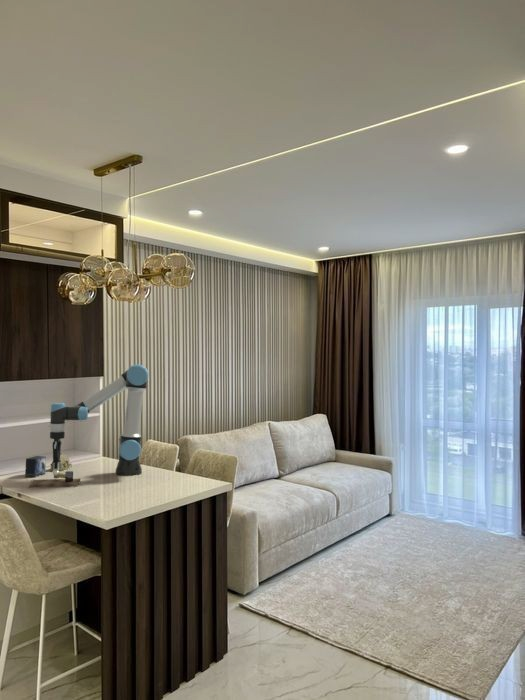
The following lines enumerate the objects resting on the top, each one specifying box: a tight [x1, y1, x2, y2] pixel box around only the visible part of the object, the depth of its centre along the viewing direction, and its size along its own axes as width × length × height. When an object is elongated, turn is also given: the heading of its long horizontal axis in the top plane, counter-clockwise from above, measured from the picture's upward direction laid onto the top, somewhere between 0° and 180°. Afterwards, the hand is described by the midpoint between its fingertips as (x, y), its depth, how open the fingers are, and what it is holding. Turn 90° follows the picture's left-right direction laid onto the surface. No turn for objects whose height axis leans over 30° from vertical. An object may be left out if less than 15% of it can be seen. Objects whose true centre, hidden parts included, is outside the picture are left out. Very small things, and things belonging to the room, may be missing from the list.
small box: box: [24, 455, 47, 478], centre depth 307 cm, size 11×6×10 cm, turn 168°
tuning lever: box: [53, 470, 74, 481], centre depth 288 cm, size 12×4×5 cm, turn 67°
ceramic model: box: [48, 452, 73, 472], centre depth 327 cm, size 14×11×10 cm
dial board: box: [27, 478, 81, 488], centre depth 285 cm, size 24×13×2 cm, turn 102°
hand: (56, 474), depth 295 cm, fingers closed
